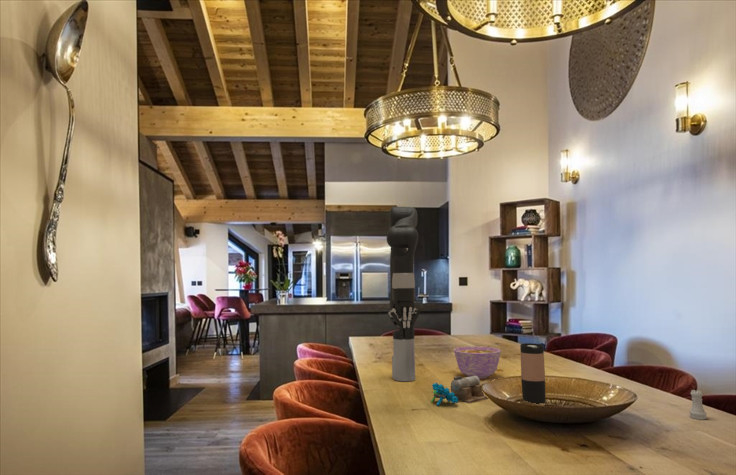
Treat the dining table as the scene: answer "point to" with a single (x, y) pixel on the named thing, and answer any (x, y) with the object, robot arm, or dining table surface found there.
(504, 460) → the dining table surface
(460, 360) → the bowl of food
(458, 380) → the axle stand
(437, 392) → the gear
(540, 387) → the travel mug
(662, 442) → the dining table surface
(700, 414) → the rook chess piece
